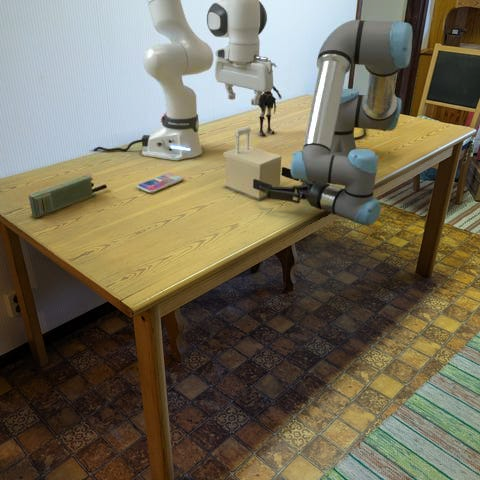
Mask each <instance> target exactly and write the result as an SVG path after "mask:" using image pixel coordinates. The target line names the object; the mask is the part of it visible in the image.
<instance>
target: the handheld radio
mask: <svg viewBox="0 0 480 480" xmlns="http://www.w3.org/2000/svg"><path fill="white" fill-rule="evenodd" d="M92 176H93V174H91V173H88V174H85V175H83V176H79V177H76V178H74V179H71V180H68V181H65V182H62V183H59V184H57V185H54V186H50V187H47V188H44V189H42V190H39V191H37V192H33V193H30V194H28V200H29V206H30V210H31V216H32V217H34V218H35V219H36V218H39V217H42V216H45V215H47V214H50V213H53V212H56V211H58V210H60V209H63V208H66V207H68V206H72V205H73V204H76V203H80V202H82V201H84V200H87V199H90V198H93V196H95V195H96V194H95V193H97V192H100V191H102V190H106V189H107V188H108V186H107V184H102V185H99V186H96V187H94V186H95V183H94V182H92V181H93V180H94V178H93V177H92ZM93 187H94V188H93Z"/></svg>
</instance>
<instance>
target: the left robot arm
mask: <svg viewBox="0 0 480 480" xmlns="http://www.w3.org/2000/svg"><path fill="white" fill-rule="evenodd" d="M146 2H147V5H148V10H149V13H150V17H151V21H152V25H153V28H154V29H155V30H156V32H158V33H159V34H160V35H162V36H165V37H166V38H167V39H168V40H169V41H170V43H160V44H156V45H153V46H151V47H148V48H147V49H145V52H144V54H143V57H142V59H143V61H142V62H143V67H144V69H145V71H146V73H147V74H148V75H149V76H150V77H151V78H153V79H154V80H155V81H156V82H157V83H158V84H159V86H160V87H161V89H162V92H163V96H164V102H165V113H163V114H162V116H161V118H160V123H161V125H159V127H157V128H156V129H155V130H154V131H152V132H151V133H150V134H143V135H142V137H141V139H137V140H134V141H131V142H130V143H129V144H128V145H127V147H126V148H123V147H113V148H106V147H103V146H96V147H97V148H96V147H95V148H93V150H92V152H97V151H98V150H102V151H104V152H116V151H121V152H127V151H129V150H130V148H131V147H132V146H133V145H135V144H140V143H141V146H142V147H143V148H142V150H141V155H142V156H145V157H152V158H157V159H164V160H170V161H176V162H178V161H182V160H185V159H190V158H191V159H192V158H196V157H198V156H200V155H202V153H203V149H202V148H203V147H202V145H201V142H200V134H199V128H200V121H199V114H198V103H197V94H196V92H195V91H194V89H192V88H191V87H189V86H187V85H185V84H184V82H183V77H185V76H192V75H199V74H202V73H205V72H207V71H209V70H211V68H212V66H213V63H214V54H215V58H216V59H215V63H214V65H215V66H214V77H215V80H216V82H218V83H220V84H224V89H225V90H226V92H227V99H228V100H231V101H234V100H235V99H236V92H234V89H233V87H239V88H244V89H247V90H253V94H254V97H253V98H251V99H250V100H251V103H250V104H251V106H258V104H259V99H260V97H261V95H262V94H263V93H264V92H268V91H271V92H272V90H273V85H274V74H273V73H274V71H273V72H272V70H273V66H272V63H273V62H272V61H270V60H271V59H269V57H268V56H261V55H260V43H261V42H260V37H259V35H260V34H261V33H262V32H263V31H264V29H265V28H266V25H267V22H268V14H267V10H266V9H265V6H264V4H262V2H261V1H260V0H220V1H217V2H214V3H212V4H211V5H210V7H209V8H208V11H207V15H206V24H207V25H206V26H207V28H208V30H209V32H210V33H211V34H212V35H213V36H215V38H228V43H227V45H228V46H225V47H222V48H217V49H216V50H215V53H213V50H212V48H211V46H210V45H209V44H208V43H207V42H205V41H204V40H202V39H201V38H200V37H199V36H198V35H197V34H196V33H195V32H194V30H193V29H192V28H191V26H190V24H189V23H188V20H187V18H186V14H185V12H184V9H183V5H182V1H181V0H146Z"/></svg>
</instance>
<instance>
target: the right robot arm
mask: <svg viewBox="0 0 480 480" xmlns="http://www.w3.org/2000/svg"><path fill="white" fill-rule="evenodd" d="M412 49H413V27H412V25H411V24H410V23H409V22H403V21H402V22H401V21H399V20H397V21H391V20H389V21H388V20H363V19H352V20H349V21H346V22H344V23H342V24H340V25H339V26H338V27H336V28H335V29H334V30H333V31H332V32H331V33H329V35H328V36H327V37H326V39H325V40H324V42H323V43H322V45H321V47H320V48H319V51H318V55H317V60H316V68H317V69H318V72H317V77H316V81H315V85H314V86H315V87H314V92H313V97H312V100H311V101H312V102H311V106H310V111H309V116H308V121H307V126H306V131H305V134H304V139H303V140H304V141H303V146H302V150H299V151H298V150H297V151H295V152H294V153H293V154H292V156H291V157H292V158H291V160H290V161H291V162H290V168H289V167H286V166H281V174H280V177H284V178H287V179H291V180H293V181H297V182H299V183H301V184H300V185H293V186H280V187H272V185H271V184H268V183H265V182H262V181H259V180H256V179H254V180H253V188H254V189H257V190H260V191H262V192H265V193H266V198H265V199H267V200H268V199H269V200H275V201H283V202H284V201H285V202H291V203H295V204H300V203H301V200H304V201H305V200H306V201H307V202H308V204H309V206H311V207H313V208H315V209H319V210H322V211H324V212H327V213H330V214H332V215H335V216H338V217H341V218H343V219H346V220H349V221H351V222H353V223H355V224H360V225H362V226H367V227H369V226H372V225H373V224H375V223H376V222H377V220H378V219H379V217H380V215H381V212H382V205H381V204H382V203H381V200H378V199H377V198H375V197H374V190H375V183H376V178H377V173H378V162H379V157H378V154H377V153H376V152H375V151H373V150H371V149H367V148H357V144H356V140H358V139H362V138H364V137H365V136H366V135H367V132H366V130H375V131H382V132H386V131H387V132H388V131H389V132H391V131H394V130H395V129H396V127H397V125H398V122H399V118H400V115H401V111H402V103H403V102H402V99H401V98H400V97H397V96H396V94H395V92H396V91H395V90H396V85H397V78H398V73H399V72H400V71H401V69H404V68H405V69H406V68H407V67H409V65H410V62H411V58H412V57H411V56H412ZM352 65H359V66H364V68H365V70H366V71H367V73H368V75H367V76H368V77H367V92H366V94H360V91H359V90H358V89H356V88H344V85H345V79H346V74H347V73H349V72H350V70H351V67H352ZM355 129H363V130H362V131H363V134H362V135H359V136H356V137H355V133H354V132H355ZM340 186H343V187H344V188H343V187H340Z"/></svg>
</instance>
